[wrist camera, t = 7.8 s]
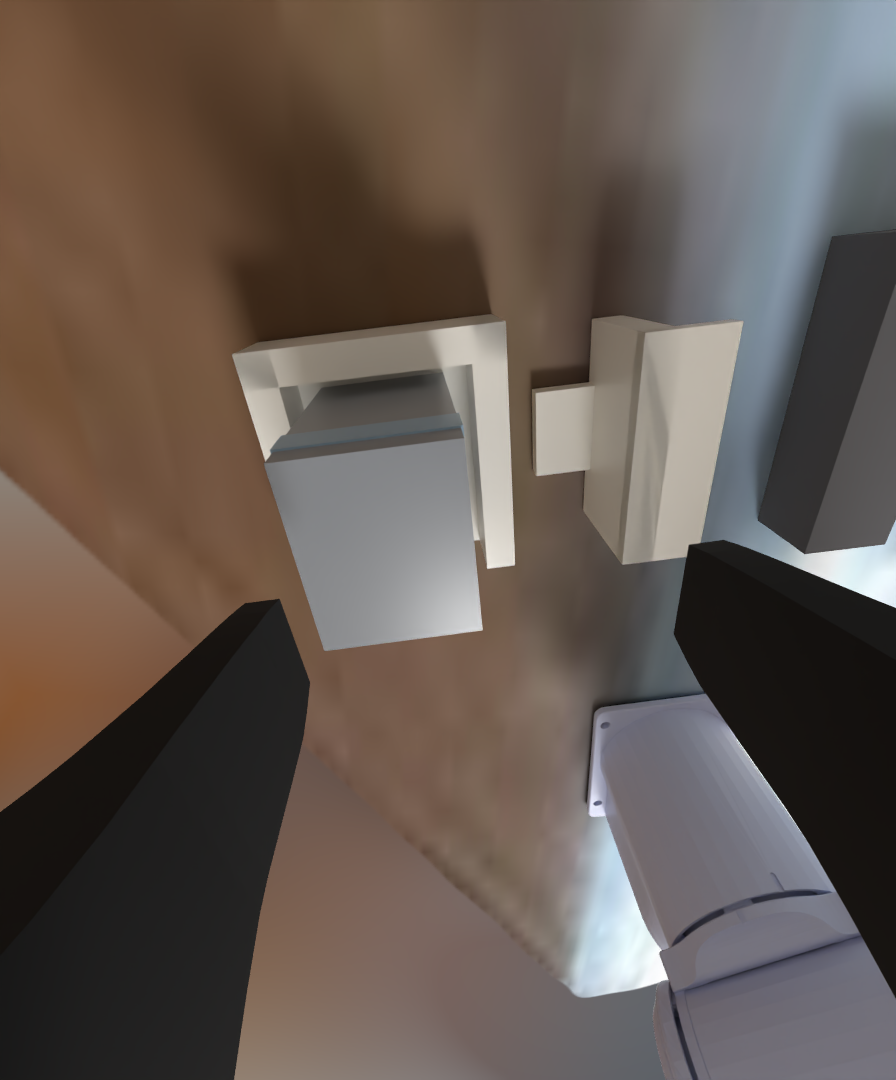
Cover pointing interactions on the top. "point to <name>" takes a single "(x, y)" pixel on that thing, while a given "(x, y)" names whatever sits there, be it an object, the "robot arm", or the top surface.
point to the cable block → (842, 408)
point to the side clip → (642, 431)
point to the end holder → (393, 352)
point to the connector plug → (380, 512)
